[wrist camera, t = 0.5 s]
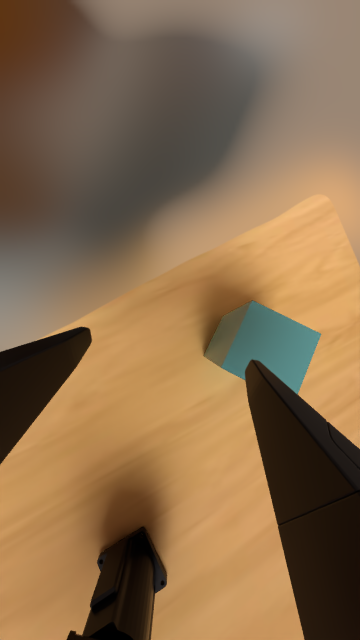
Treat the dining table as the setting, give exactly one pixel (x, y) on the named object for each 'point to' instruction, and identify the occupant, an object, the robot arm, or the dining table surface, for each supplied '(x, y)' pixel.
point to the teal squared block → (263, 343)
